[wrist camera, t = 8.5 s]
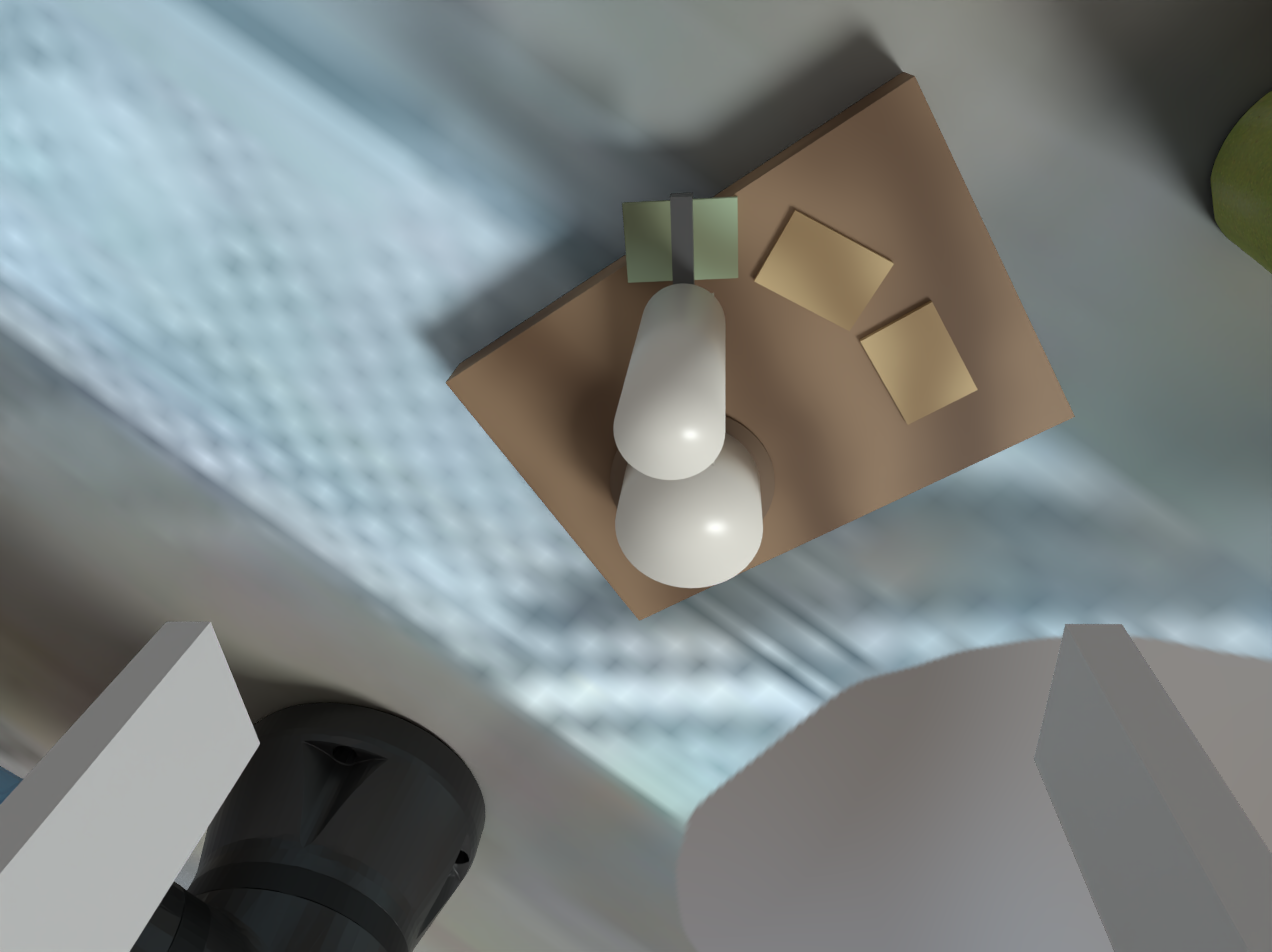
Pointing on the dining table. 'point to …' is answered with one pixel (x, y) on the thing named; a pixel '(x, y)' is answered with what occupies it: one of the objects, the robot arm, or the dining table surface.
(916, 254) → the board
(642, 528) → the peg
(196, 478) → the dining table surface
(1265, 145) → the plant pot
